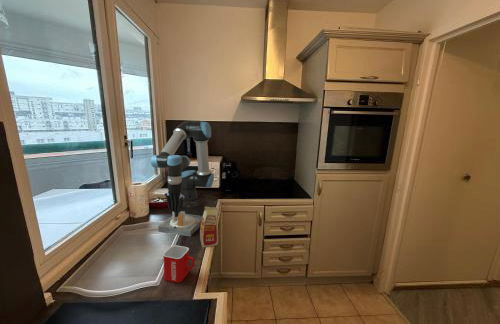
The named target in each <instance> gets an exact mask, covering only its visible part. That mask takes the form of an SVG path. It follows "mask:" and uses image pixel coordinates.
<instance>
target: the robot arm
mask: <svg viewBox="0 0 500 324" xmlns="http://www.w3.org/2000/svg"><path fill="white" fill-rule="evenodd" d="M172 133H173V134H172V135H171V137H170V138H169V140H168V141H167V142H166V144H165V146H164V147H163V148H162V150H161V151H160V152H159V154H156V155H155V154H153V155H151V159H150V165H151V167H152V168H157V169H167V190H168V191H167V192H165V193H164V196H165V200H166V203H167V209H168V210H169V211H170V212H171V216H172V220H173V223H175V222H177V217H178V213H180V212H181V211H182V209H183V204H184V202H192V200H193V201H195V200H198V198H199V196H198V193H197V190H196V188H211V187H212V186H213V183H214V180H215V179H214V178H215V174H214V173H212V170H211V169H210V164H209V148H208V145H209V144H208V142H209V140H210V138H211V137H212V127H211V125H210V123H209V122H208V121H203V120H202V121H200V120H199V121H198V120H197V121H191V120H187V121H184V122H182V123H180V124H178V125H177V126H176V127H175V128H174V129H173V131H172ZM187 138H193V141H194V142H195V147H196V148H195V149H196V159H197V161H196V162H197V169H198V170H197V171H196V170H194V169H193V170H192V169H190V170H185V169H186V168H188V167H189V166H191V165H190V164H191V160H190V158H189V156H187V155H178V154H175V153H176V152H177V150H178V148H179V147H180V146H181V144H182V142H183V141H184V140H186V139H187ZM183 170H185V171H183Z"/></svg>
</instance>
